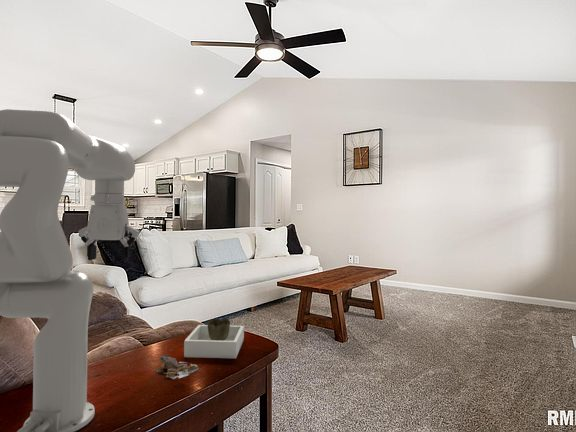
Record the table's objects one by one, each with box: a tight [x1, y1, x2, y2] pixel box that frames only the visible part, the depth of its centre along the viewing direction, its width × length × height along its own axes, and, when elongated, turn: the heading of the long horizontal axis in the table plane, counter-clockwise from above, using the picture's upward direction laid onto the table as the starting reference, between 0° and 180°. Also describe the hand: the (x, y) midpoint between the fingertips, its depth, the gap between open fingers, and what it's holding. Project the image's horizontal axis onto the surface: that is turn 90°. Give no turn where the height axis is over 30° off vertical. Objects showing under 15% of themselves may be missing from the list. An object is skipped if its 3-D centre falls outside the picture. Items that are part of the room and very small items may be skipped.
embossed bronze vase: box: [206, 317, 231, 341], centre depth 117 cm, size 8×7×8 cm
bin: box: [183, 324, 245, 359], centre depth 117 cm, size 16×16×5 cm
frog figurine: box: [156, 354, 199, 380], centre depth 100 cm, size 12×12×4 cm
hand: (108, 259), depth 103 cm, fingers open, 9 cm apart
